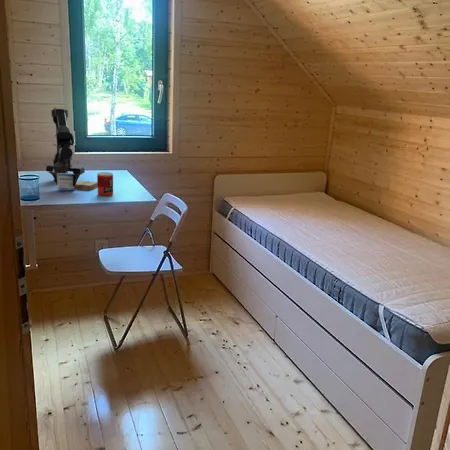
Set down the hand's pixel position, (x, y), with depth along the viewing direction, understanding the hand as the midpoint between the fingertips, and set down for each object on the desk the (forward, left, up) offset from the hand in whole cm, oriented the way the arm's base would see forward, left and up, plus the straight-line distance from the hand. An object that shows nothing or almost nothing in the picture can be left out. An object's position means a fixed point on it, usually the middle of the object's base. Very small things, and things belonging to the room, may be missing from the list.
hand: (65, 185), depth 248 cm
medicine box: (0, 0, -2) cm, 2 cm away
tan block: (+6, +10, -3) cm, 12 cm away
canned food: (+22, -1, -3) cm, 22 cm away
